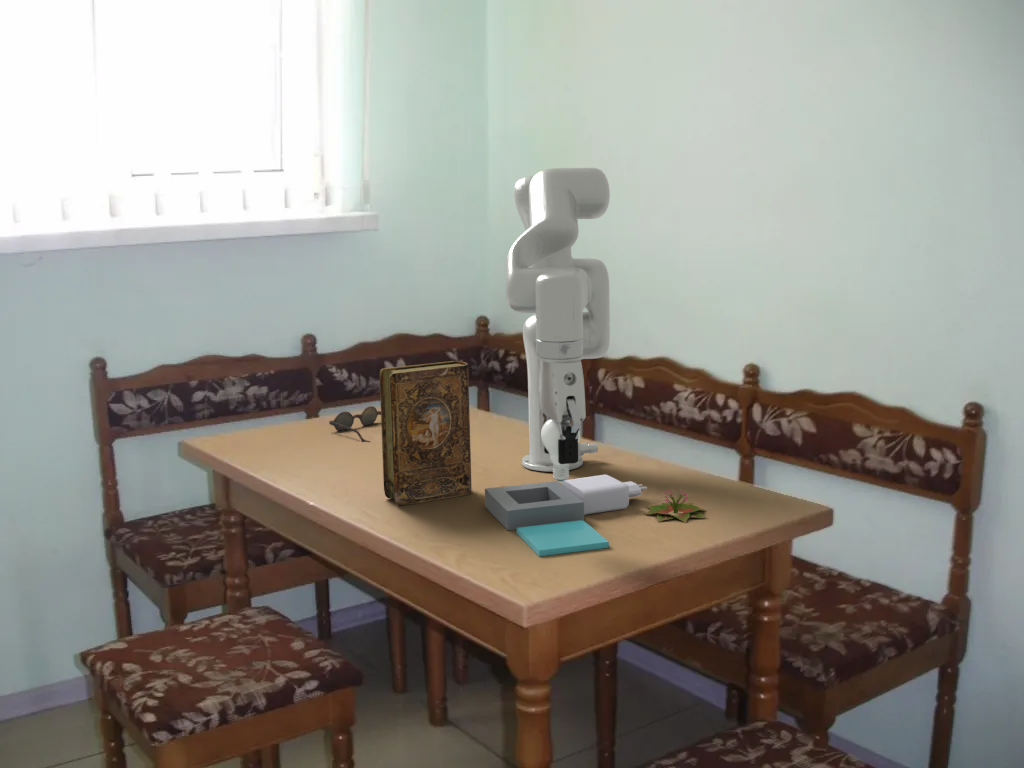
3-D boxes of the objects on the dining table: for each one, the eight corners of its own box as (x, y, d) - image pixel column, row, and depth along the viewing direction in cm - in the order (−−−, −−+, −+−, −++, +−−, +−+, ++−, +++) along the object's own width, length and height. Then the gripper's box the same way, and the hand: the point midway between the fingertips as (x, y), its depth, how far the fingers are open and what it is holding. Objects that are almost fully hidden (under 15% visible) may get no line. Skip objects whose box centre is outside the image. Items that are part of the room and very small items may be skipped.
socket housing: (557, 498, 212) (557, 480, 211) (584, 521, 198) (583, 502, 198) (485, 507, 208) (484, 488, 207) (507, 530, 194) (507, 510, 194)
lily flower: (698, 503, 209) (698, 479, 208) (718, 524, 197) (719, 498, 196) (634, 507, 207) (634, 483, 206) (651, 528, 196) (651, 502, 195)
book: (463, 486, 221) (460, 360, 216) (475, 493, 216) (472, 364, 211) (384, 499, 213) (378, 369, 208) (394, 507, 209) (389, 373, 204)
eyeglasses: (379, 423, 276) (378, 403, 275) (418, 433, 266) (417, 412, 265) (329, 434, 266) (328, 413, 265) (367, 445, 256) (366, 423, 255)
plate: (582, 525, 196) (582, 519, 196) (608, 547, 185) (608, 541, 185) (516, 533, 193) (516, 527, 193) (539, 556, 182) (538, 550, 181)
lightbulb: (557, 473, 191) (556, 409, 189) (587, 479, 187) (587, 414, 185) (533, 482, 186) (532, 417, 184) (564, 488, 182) (564, 422, 180)
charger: (656, 505, 207) (583, 517, 201) (632, 492, 215) (560, 503, 210) (657, 480, 206) (583, 491, 200) (632, 468, 214) (560, 478, 209)
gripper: (601, 356, 176) (601, 468, 179) (563, 340, 192) (564, 443, 195) (555, 360, 173) (556, 473, 177) (521, 343, 190) (523, 447, 193)
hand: (560, 456), depth 186 cm, fingers closed on lightbulb, 6 cm apart
